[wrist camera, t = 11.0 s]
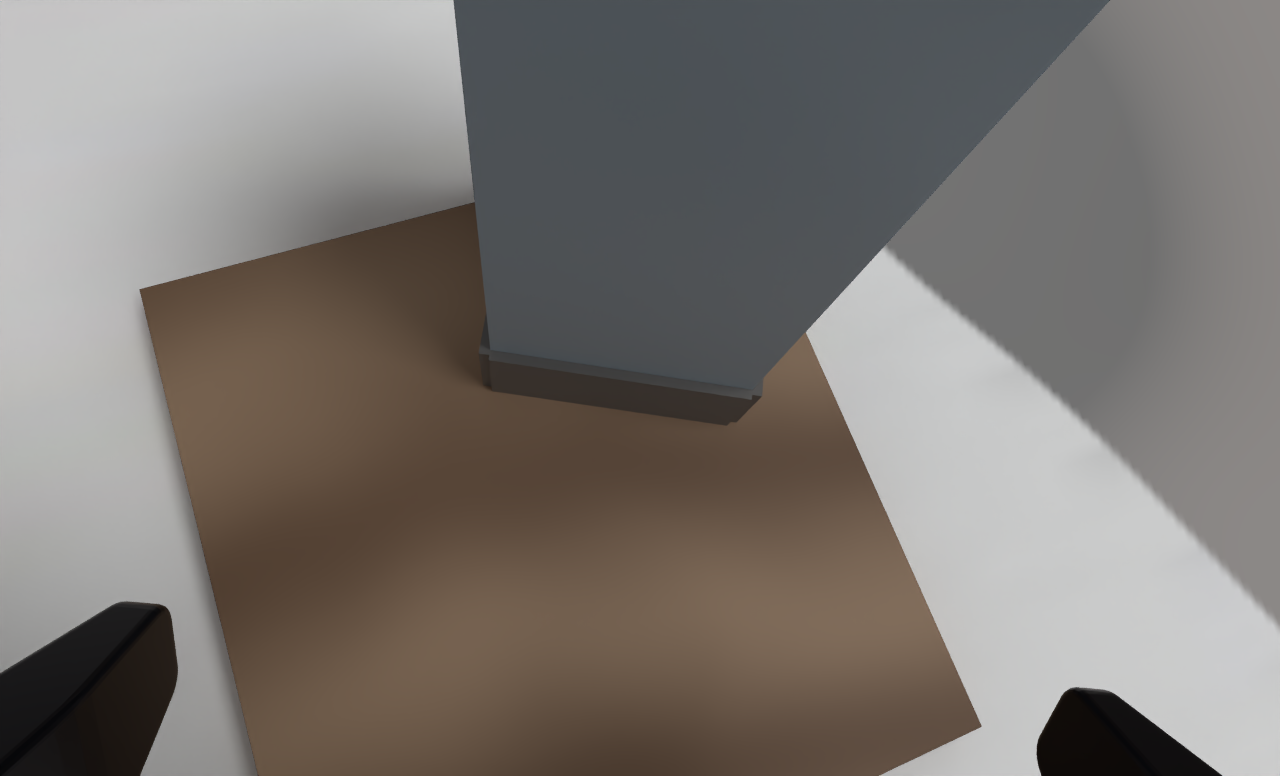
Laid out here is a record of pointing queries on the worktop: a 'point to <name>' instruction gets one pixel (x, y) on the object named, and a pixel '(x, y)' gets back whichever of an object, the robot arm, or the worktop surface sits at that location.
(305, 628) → the pin board
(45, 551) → the worktop surface
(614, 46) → the sleeve
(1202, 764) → the robot arm
